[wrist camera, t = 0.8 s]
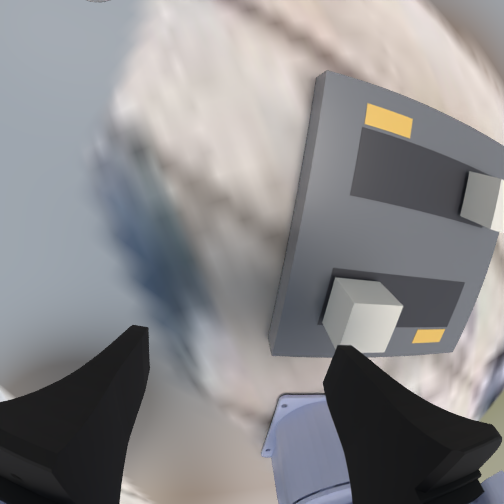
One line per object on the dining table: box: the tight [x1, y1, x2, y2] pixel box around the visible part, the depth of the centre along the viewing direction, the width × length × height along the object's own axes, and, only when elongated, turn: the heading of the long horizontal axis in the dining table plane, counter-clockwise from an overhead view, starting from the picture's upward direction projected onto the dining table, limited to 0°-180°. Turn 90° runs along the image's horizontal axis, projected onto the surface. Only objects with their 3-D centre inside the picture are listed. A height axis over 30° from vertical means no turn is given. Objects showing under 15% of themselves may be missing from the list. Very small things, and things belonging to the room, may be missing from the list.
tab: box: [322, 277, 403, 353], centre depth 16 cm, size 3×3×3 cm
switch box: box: [268, 70, 504, 357], centre depth 18 cm, size 17×16×2 cm
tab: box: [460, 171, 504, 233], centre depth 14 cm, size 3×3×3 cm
